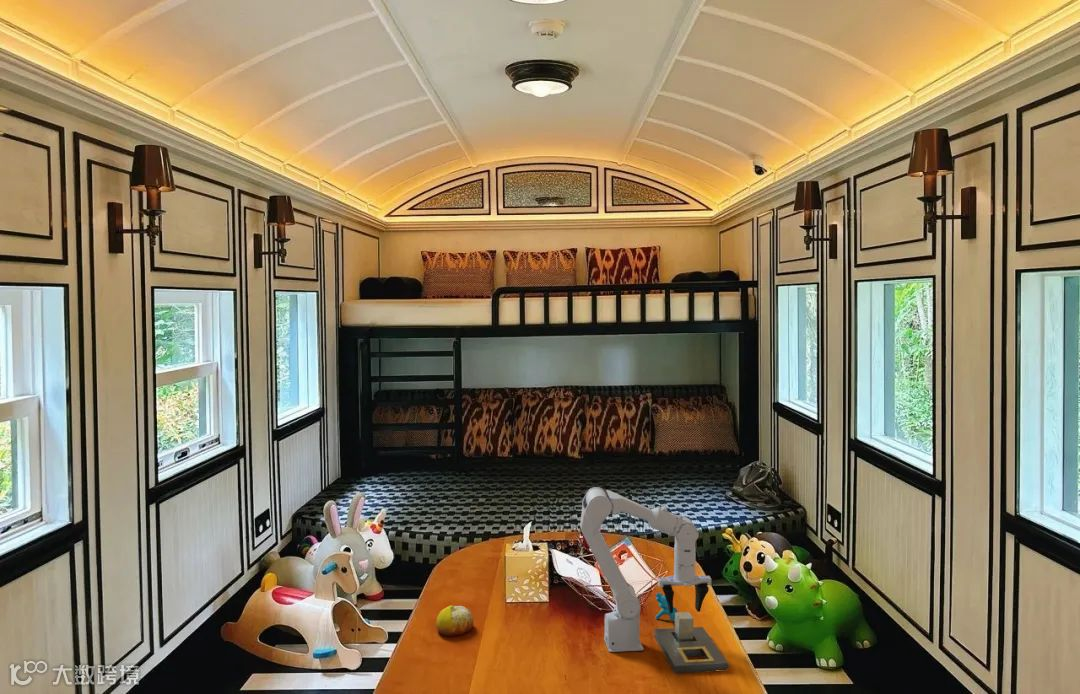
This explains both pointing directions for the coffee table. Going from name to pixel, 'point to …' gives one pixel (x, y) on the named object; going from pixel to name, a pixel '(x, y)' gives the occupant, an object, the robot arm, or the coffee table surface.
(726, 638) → the coffee table surface
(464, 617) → the fruit
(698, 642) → the hole plate
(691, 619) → the steel peg
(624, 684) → the coffee table surface
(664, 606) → the teal lobed piece
